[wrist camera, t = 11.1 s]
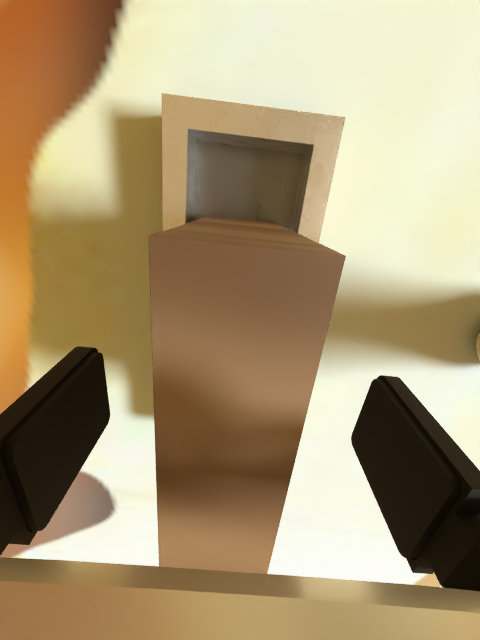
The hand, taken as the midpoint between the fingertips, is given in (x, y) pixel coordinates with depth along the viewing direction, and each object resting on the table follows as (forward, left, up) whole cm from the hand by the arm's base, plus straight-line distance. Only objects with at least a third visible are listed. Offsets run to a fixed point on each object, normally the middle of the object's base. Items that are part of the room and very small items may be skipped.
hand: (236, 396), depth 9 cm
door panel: (+1, 0, -10) cm, 10 cm away
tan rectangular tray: (+1, 0, -11) cm, 11 cm away
